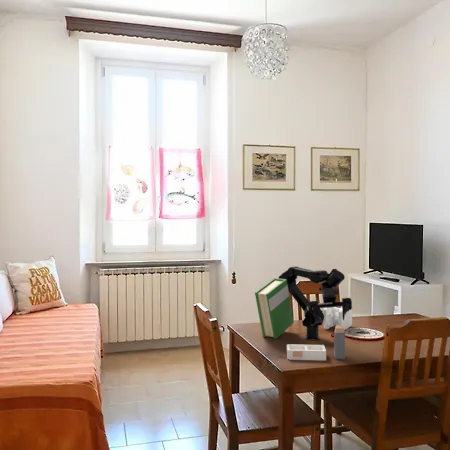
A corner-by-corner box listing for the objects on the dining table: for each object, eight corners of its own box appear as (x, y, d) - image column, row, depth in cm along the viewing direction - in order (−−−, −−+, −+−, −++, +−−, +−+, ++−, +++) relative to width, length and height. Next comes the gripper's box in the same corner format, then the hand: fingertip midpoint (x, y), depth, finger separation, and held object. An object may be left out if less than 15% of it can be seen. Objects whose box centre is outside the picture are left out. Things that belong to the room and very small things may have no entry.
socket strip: (286, 353, 207) (286, 344, 207) (324, 354, 205) (324, 345, 205) (287, 359, 198) (287, 350, 198) (326, 360, 196) (326, 351, 196)
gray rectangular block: (334, 356, 202) (334, 326, 202) (343, 356, 202) (343, 326, 202) (335, 359, 198) (335, 328, 198) (344, 359, 198) (344, 328, 198)
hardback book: (275, 339, 228) (267, 294, 222) (262, 336, 233) (254, 292, 227) (293, 322, 241) (286, 279, 235) (281, 320, 246) (274, 278, 240)
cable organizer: (334, 324, 258) (334, 302, 257) (353, 326, 251) (353, 304, 251) (323, 330, 245) (323, 307, 245) (342, 333, 239) (342, 310, 239)
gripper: (306, 283, 215) (309, 311, 203) (348, 279, 212) (354, 307, 200) (308, 299, 222) (311, 326, 210) (349, 295, 219) (354, 323, 207)
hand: (332, 320), depth 207 cm, fingers open, 9 cm apart
